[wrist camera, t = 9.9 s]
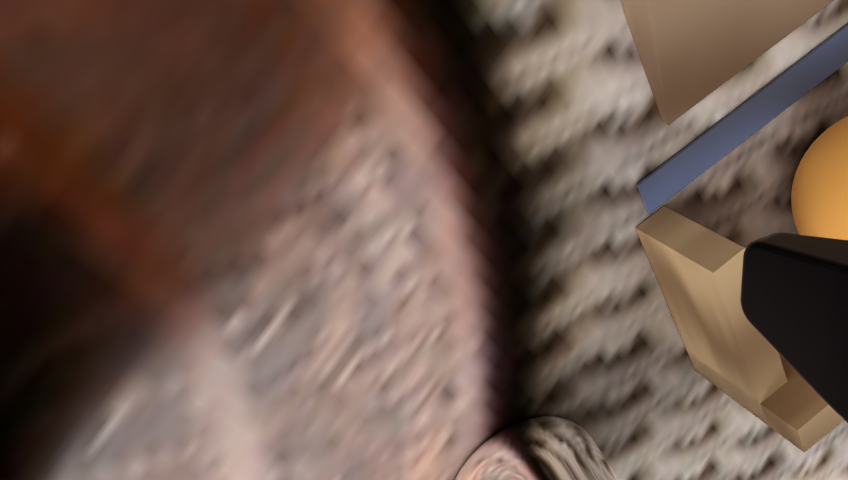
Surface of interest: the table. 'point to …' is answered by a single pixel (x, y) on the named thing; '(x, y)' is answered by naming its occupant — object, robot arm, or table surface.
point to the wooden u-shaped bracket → (733, 266)
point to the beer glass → (538, 454)
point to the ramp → (706, 42)
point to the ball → (823, 186)
